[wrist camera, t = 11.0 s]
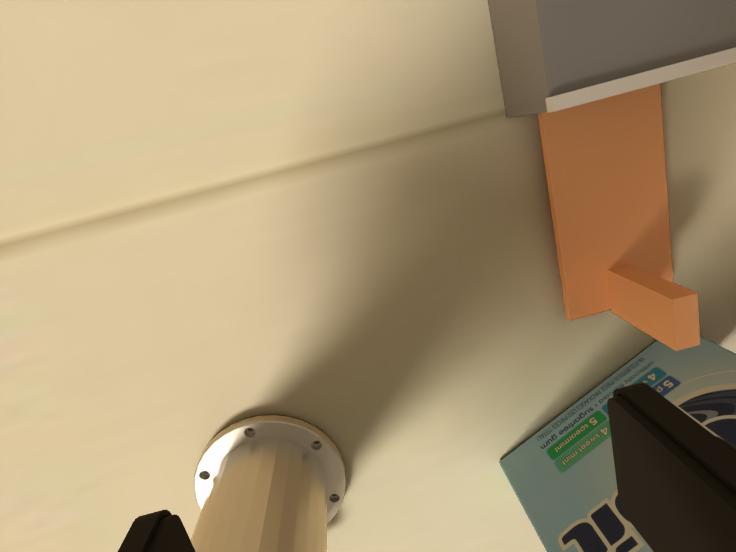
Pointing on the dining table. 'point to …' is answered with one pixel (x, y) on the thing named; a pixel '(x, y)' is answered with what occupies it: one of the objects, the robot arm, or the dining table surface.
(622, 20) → the grey boxy piece
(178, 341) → the dining table surface
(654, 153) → the orange stepped block
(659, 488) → the robot arm
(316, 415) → the dining table surface
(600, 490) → the teal product box
